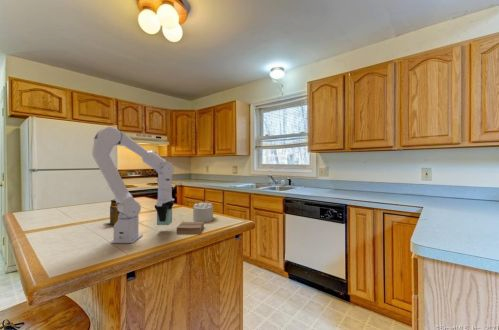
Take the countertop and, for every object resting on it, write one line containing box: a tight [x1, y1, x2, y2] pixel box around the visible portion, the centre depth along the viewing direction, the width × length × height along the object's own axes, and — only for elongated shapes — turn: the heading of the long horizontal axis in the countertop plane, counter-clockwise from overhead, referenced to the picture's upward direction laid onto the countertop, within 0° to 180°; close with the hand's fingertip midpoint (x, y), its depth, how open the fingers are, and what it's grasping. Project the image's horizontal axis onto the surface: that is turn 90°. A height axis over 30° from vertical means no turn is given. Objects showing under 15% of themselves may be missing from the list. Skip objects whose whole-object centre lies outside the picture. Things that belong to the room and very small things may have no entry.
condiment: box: [103, 198, 120, 228], centre depth 116 cm, size 7×8×12 cm
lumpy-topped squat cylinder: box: [192, 202, 214, 223], centre depth 127 cm, size 10×13×9 cm
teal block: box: [156, 208, 173, 226], centre depth 105 cm, size 5×5×6 cm
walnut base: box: [176, 221, 205, 235], centre depth 107 cm, size 10×10×3 cm
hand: (164, 219), depth 105 cm, fingers closed on teal block, 5 cm apart
